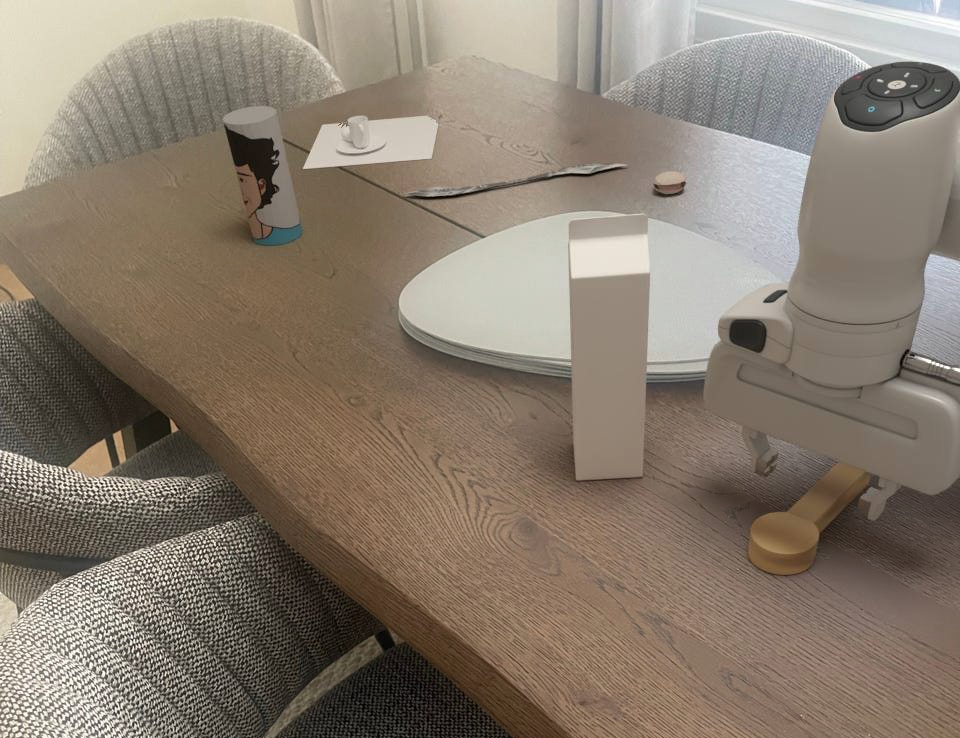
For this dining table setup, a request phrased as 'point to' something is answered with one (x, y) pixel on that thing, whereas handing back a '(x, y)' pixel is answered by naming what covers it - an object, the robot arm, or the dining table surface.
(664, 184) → the macaroon
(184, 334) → the dining table surface
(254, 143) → the white tall cylinder
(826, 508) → the spoon
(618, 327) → the milk
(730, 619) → the dining table surface
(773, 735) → the dining table surface
